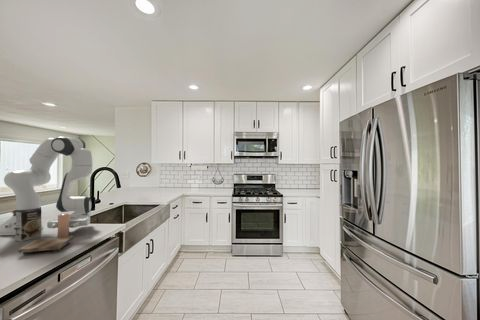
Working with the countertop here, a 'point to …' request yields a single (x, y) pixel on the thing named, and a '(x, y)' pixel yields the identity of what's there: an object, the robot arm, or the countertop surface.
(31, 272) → the countertop surface
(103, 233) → the countertop surface
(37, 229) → the coffee box
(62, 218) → the terracotta canister
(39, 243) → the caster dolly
